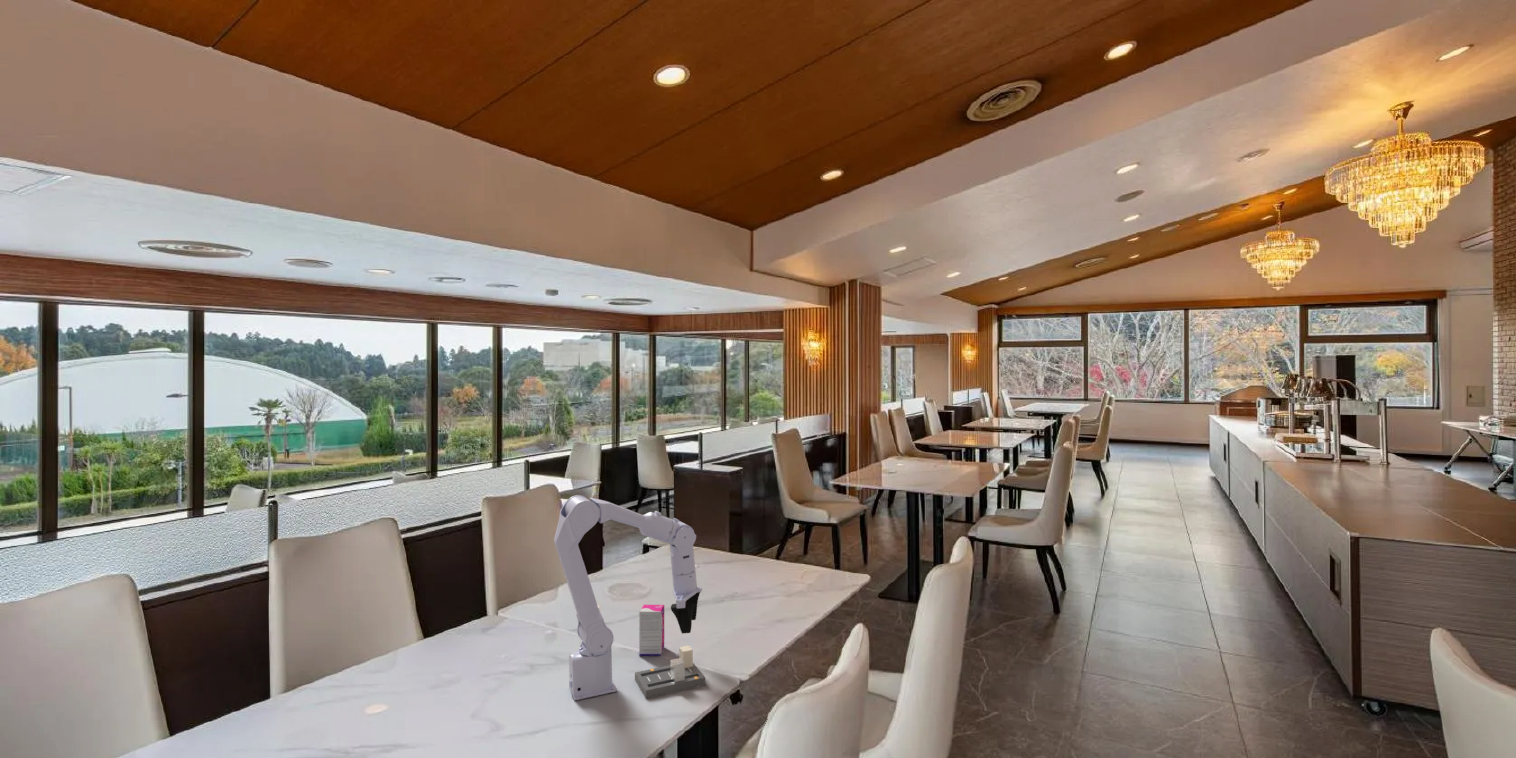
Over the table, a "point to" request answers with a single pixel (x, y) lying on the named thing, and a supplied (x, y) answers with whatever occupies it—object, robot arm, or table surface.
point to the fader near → (677, 670)
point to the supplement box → (651, 630)
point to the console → (667, 681)
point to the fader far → (686, 656)
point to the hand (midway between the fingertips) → (688, 626)
